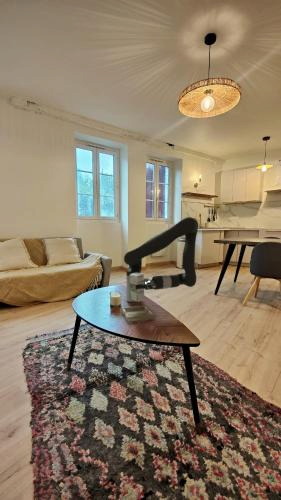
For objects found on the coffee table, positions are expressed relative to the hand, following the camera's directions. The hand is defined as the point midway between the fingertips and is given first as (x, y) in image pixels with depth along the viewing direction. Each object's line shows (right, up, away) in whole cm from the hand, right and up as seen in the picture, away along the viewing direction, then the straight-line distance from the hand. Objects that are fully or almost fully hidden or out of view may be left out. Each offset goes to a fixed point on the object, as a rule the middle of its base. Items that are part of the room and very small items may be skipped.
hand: (133, 284), depth 119 cm
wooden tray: (+2, -18, +3) cm, 18 cm away
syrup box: (+2, -9, +2) cm, 9 cm away
